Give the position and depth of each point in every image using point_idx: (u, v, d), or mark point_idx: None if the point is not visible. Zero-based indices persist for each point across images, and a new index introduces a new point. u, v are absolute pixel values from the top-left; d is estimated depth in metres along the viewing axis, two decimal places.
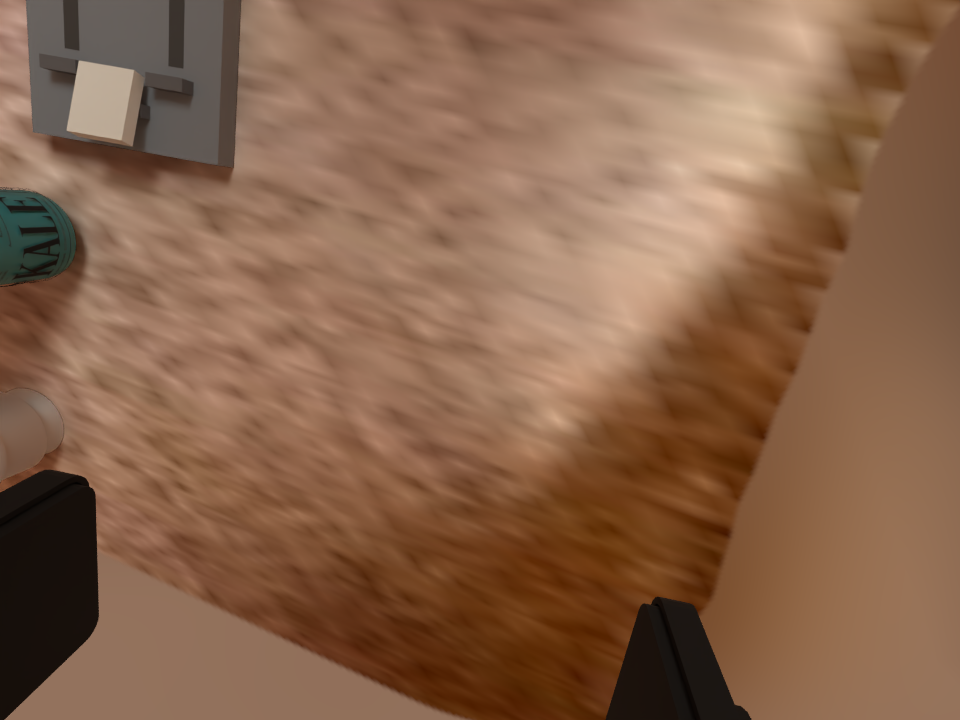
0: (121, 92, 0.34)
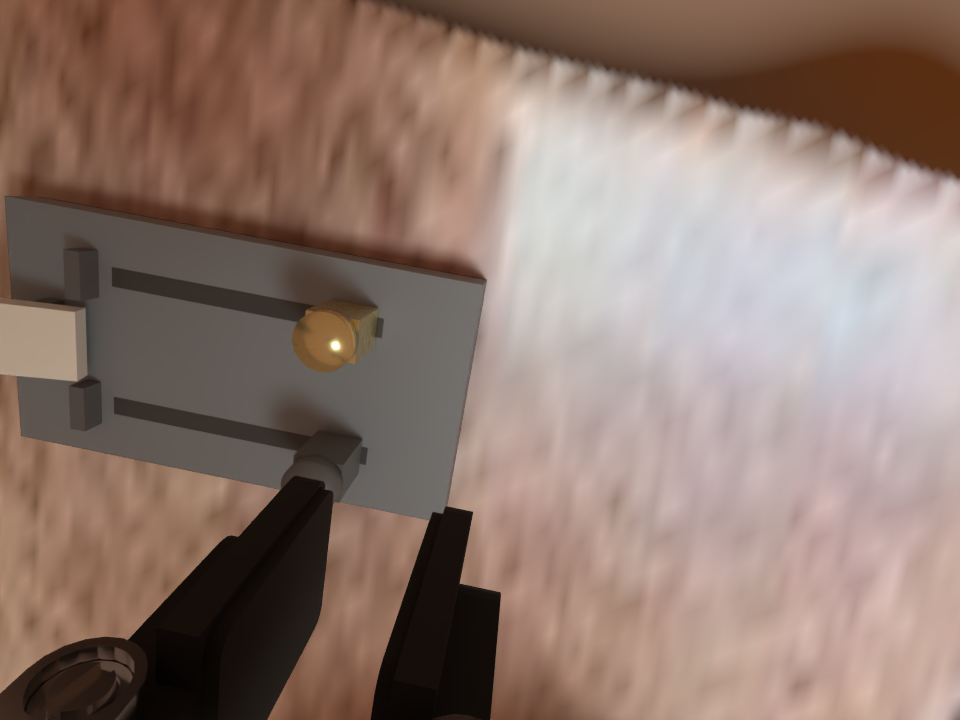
0: (43, 368, 0.27)
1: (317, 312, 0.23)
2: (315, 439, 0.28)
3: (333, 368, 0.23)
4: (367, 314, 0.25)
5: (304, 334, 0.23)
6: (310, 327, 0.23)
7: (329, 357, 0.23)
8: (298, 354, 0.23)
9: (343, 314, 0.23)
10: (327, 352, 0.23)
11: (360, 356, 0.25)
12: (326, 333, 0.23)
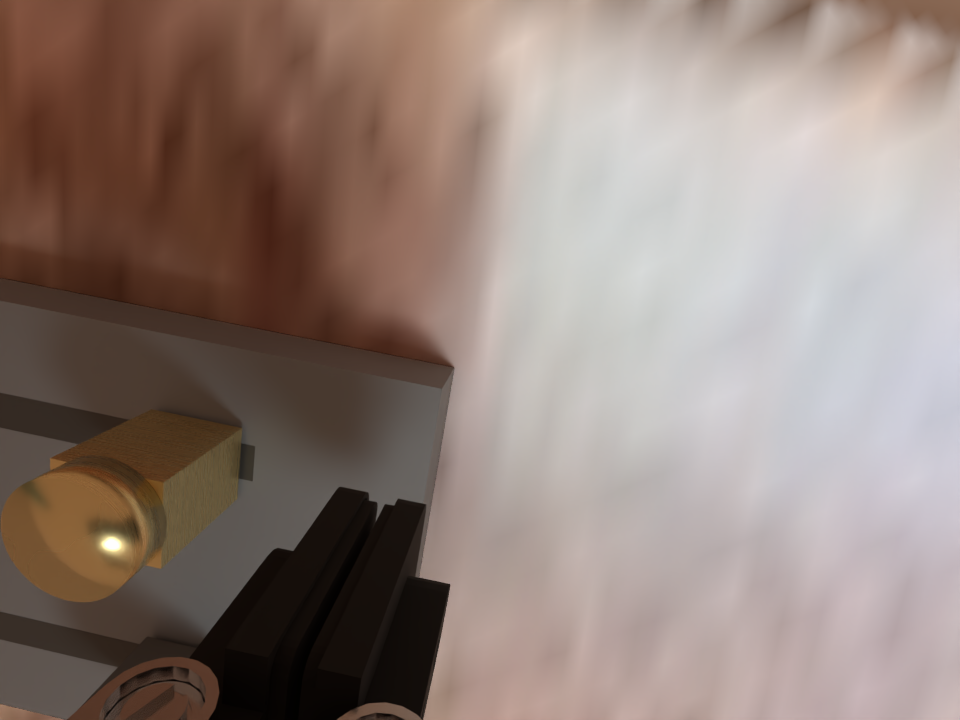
0: None
1: (50, 477, 0.10)
2: (130, 665, 0.15)
3: (96, 595, 0.10)
4: (200, 454, 0.12)
5: (27, 524, 0.10)
6: (36, 509, 0.10)
7: (85, 572, 0.10)
8: (20, 564, 0.10)
9: (123, 473, 0.11)
10: (79, 562, 0.10)
11: (184, 541, 0.12)
12: (72, 522, 0.10)
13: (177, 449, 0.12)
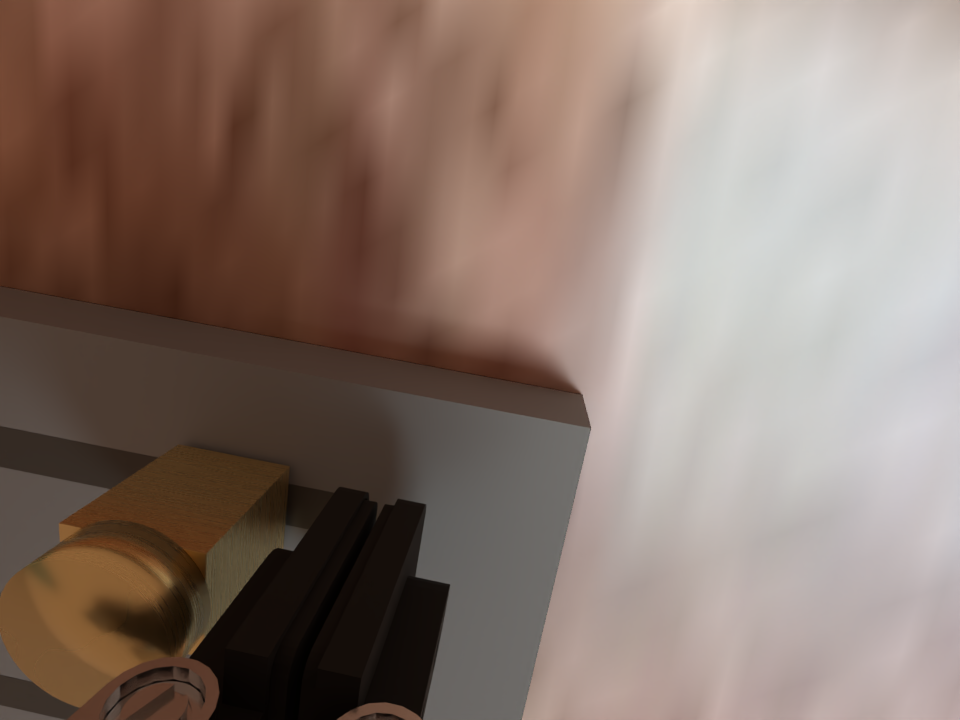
0: None
1: (61, 558, 0.08)
2: None
3: None
4: (246, 508, 0.10)
5: (31, 616, 0.08)
6: (44, 599, 0.08)
7: (109, 676, 0.08)
8: (24, 664, 0.08)
9: (155, 544, 0.08)
10: (102, 663, 0.08)
11: None
12: (92, 615, 0.08)
13: (217, 501, 0.10)
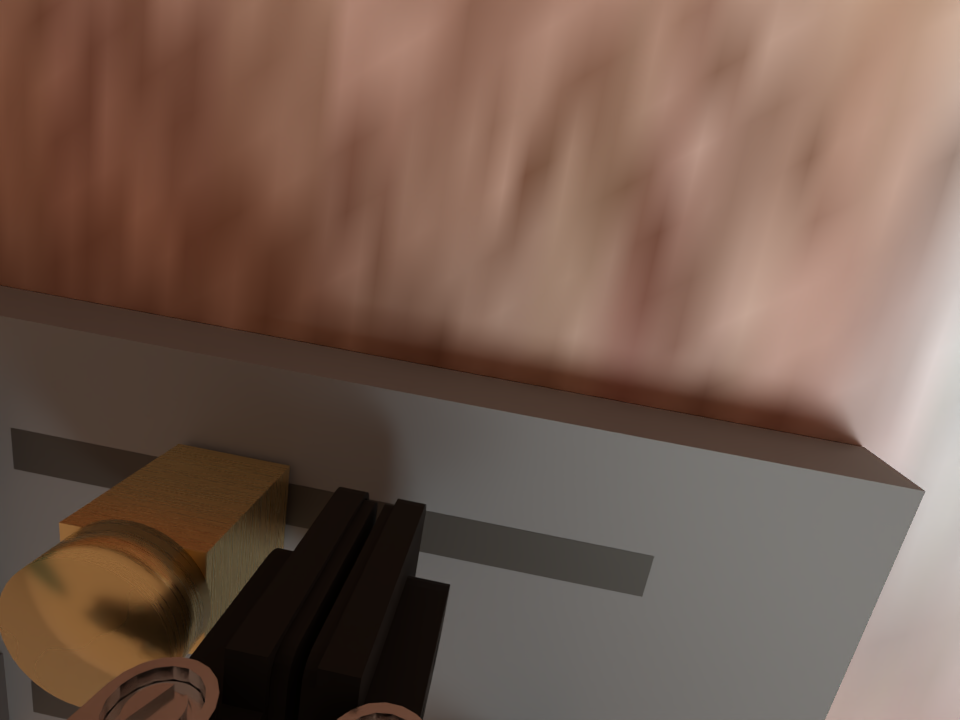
0: None
1: (61, 557, 0.08)
2: None
3: None
4: (246, 507, 0.10)
5: (32, 616, 0.08)
6: (44, 598, 0.08)
7: (109, 676, 0.08)
8: (24, 664, 0.08)
9: (155, 543, 0.08)
10: (102, 663, 0.08)
11: None
12: (92, 613, 0.08)
13: (217, 501, 0.10)
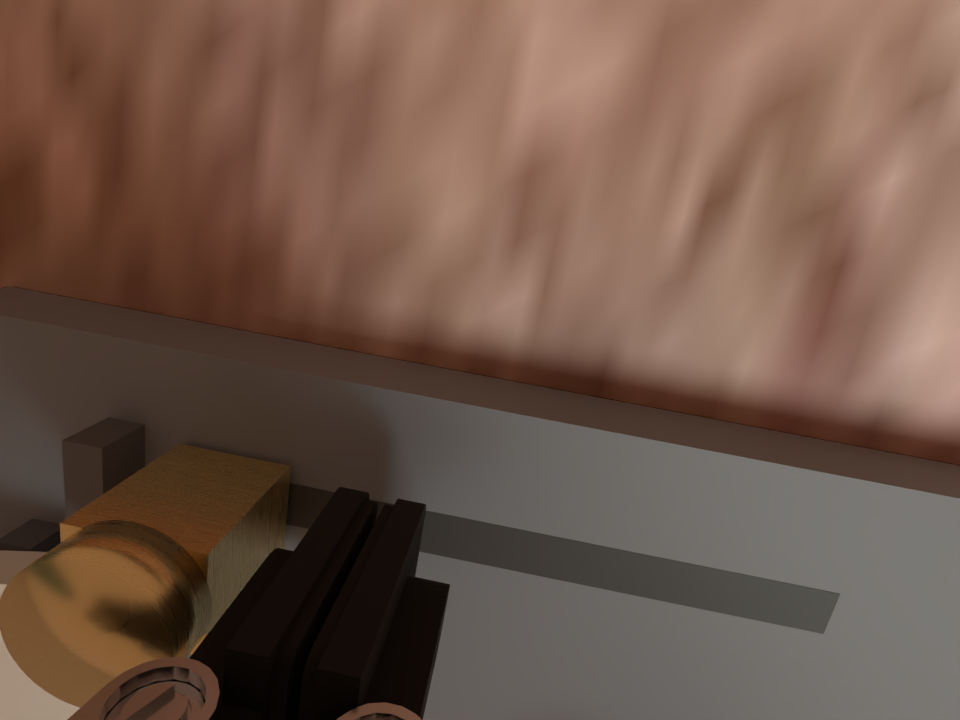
0: (16, 707, 0.11)
1: (62, 558, 0.08)
2: None
3: None
4: (247, 508, 0.10)
5: (32, 617, 0.08)
6: (45, 599, 0.08)
7: (110, 677, 0.08)
8: (26, 665, 0.08)
9: (156, 544, 0.08)
10: (103, 664, 0.08)
11: None
12: (93, 616, 0.08)
13: (218, 501, 0.10)
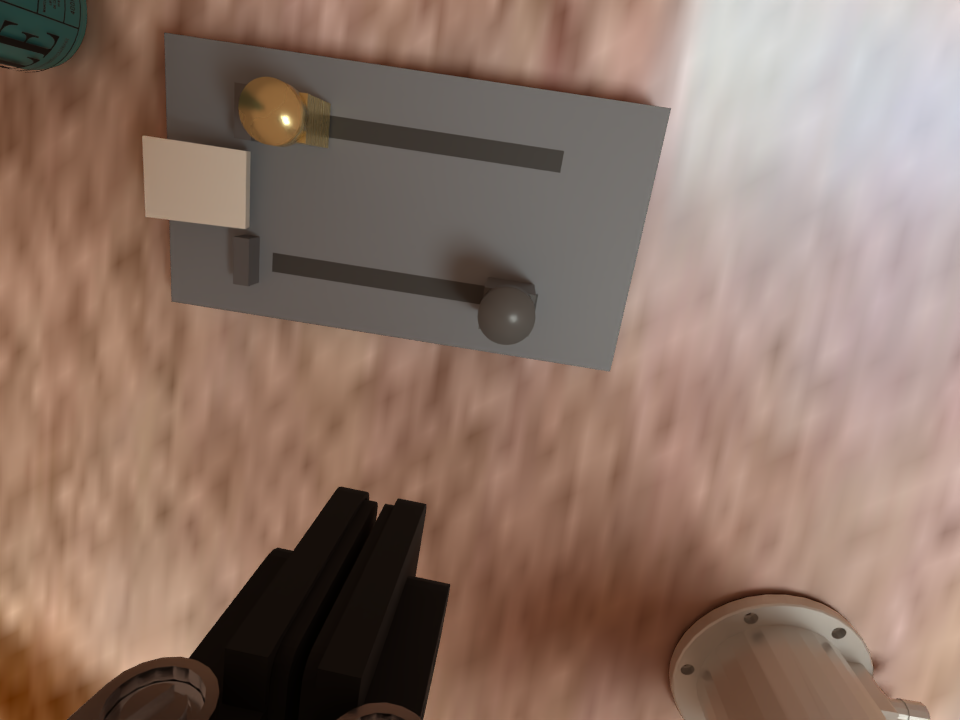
0: (212, 214, 0.26)
1: (262, 78, 0.22)
2: (491, 281, 0.27)
3: (282, 140, 0.23)
4: (317, 98, 0.25)
5: (251, 103, 0.23)
6: (256, 94, 0.22)
7: (277, 128, 0.23)
8: (246, 126, 0.23)
9: (290, 85, 0.23)
10: (275, 122, 0.23)
11: (312, 141, 0.25)
12: (273, 100, 0.22)
13: None
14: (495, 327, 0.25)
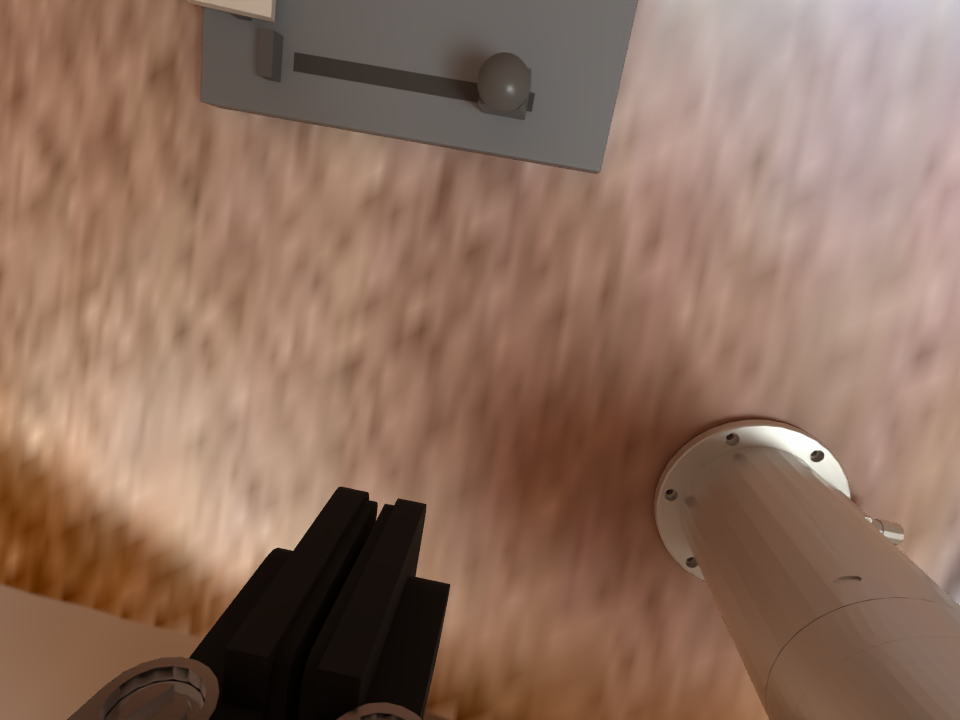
0: (242, 0, 0.29)
1: None
2: None
3: None
4: None
5: None
6: None
7: None
8: None
9: None
10: None
11: None
12: None
13: None
14: (493, 92, 0.27)
